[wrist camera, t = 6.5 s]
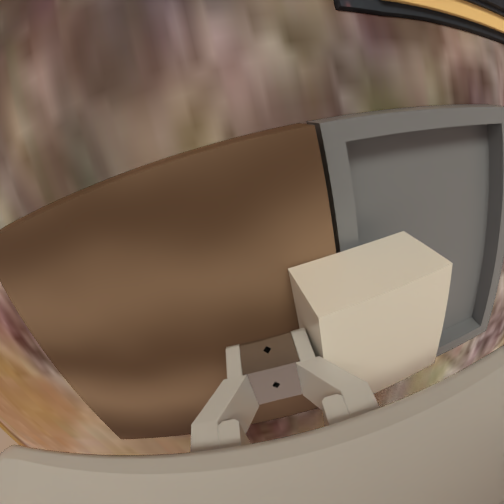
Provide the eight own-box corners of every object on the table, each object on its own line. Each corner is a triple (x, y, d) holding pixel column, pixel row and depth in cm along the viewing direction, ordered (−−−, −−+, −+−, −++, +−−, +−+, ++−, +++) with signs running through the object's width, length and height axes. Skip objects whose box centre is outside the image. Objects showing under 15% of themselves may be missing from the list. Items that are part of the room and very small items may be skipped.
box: (306, 121, 11) (319, 123, 9) (487, 104, 11) (508, 107, 9) (341, 372, 17) (349, 391, 15) (473, 317, 17) (485, 330, 15)
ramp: (5, 226, 11) (-19, 243, 9) (298, 123, 11) (314, 125, 9) (125, 415, 17) (121, 439, 15) (336, 374, 17) (347, 398, 15)
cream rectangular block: (288, 268, 11) (318, 317, 8) (403, 230, 11) (452, 263, 8) (305, 362, 13) (328, 412, 10) (400, 324, 13) (434, 363, 11)
